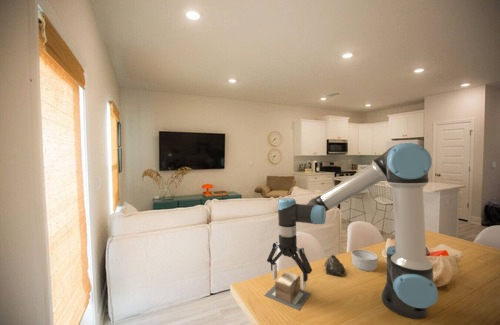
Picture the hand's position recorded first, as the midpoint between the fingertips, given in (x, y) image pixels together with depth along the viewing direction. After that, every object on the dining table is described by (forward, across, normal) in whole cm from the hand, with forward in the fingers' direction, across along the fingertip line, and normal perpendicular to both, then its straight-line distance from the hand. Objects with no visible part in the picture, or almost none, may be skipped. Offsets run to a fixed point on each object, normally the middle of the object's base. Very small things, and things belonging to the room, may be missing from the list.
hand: (288, 283), depth 95 cm
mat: (+6, +1, 0) cm, 6 cm away
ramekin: (+7, -22, -47) cm, 52 cm away
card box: (+5, 0, 0) cm, 5 cm away
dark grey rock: (+6, -11, -31) cm, 34 cm away
